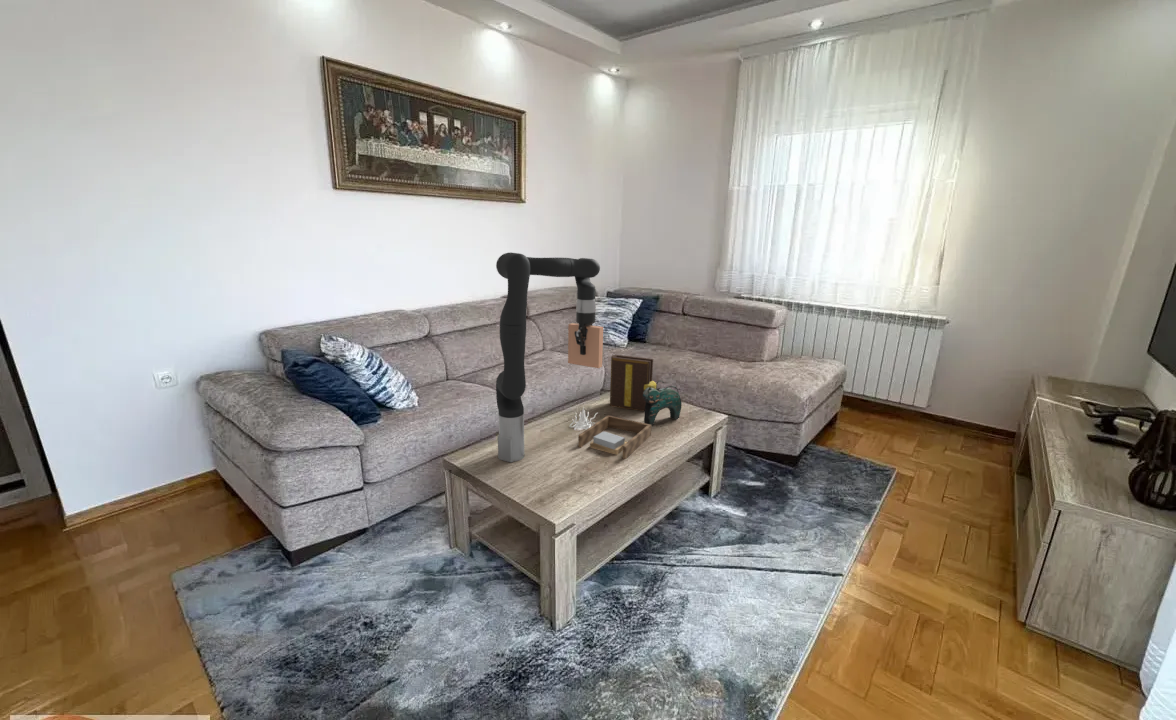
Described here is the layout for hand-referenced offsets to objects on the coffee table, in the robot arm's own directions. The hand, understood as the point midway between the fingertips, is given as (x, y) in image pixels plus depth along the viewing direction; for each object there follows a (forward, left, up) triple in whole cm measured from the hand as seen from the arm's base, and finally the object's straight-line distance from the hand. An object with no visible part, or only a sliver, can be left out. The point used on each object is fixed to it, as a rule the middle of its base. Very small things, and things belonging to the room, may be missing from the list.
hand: (585, 353), depth 196 cm
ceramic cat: (+31, -22, -35) cm, 52 cm away
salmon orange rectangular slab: (0, 0, -5) cm, 5 cm away
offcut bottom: (-5, -14, -36) cm, 39 cm away
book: (+40, -4, -35) cm, 54 cm away
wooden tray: (+1, -14, -35) cm, 38 cm away
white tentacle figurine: (+9, +5, -35) cm, 37 cm away
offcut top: (-5, -14, -33) cm, 37 cm away
